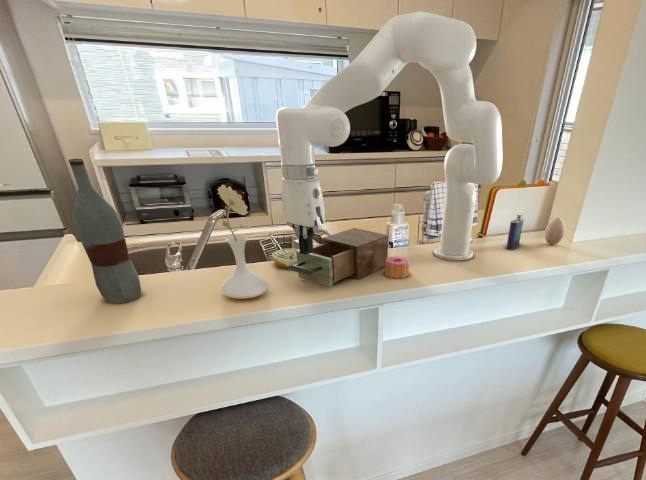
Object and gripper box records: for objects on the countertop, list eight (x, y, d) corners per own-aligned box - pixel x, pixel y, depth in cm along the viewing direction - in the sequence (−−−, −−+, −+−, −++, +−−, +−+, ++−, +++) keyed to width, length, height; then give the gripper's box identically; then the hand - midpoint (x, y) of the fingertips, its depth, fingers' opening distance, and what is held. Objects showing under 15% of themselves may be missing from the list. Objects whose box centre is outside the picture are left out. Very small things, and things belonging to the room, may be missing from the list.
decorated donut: (291, 272, 119) (289, 259, 117) (265, 265, 124) (263, 252, 122) (316, 263, 127) (315, 251, 124) (290, 256, 131) (289, 244, 129)
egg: (542, 241, 153) (548, 214, 148) (561, 243, 152) (568, 216, 147) (541, 245, 148) (548, 218, 143) (561, 248, 147) (568, 220, 141)
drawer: (316, 293, 105) (314, 264, 101) (284, 282, 111) (281, 255, 106) (361, 273, 118) (361, 247, 114) (331, 264, 123) (330, 239, 119)
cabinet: (357, 279, 117) (357, 246, 111) (323, 269, 122) (321, 237, 117) (387, 265, 126) (388, 235, 121) (354, 257, 132) (354, 227, 127)
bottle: (107, 291, 105) (57, 156, 88) (147, 288, 107) (106, 156, 90) (97, 306, 98) (41, 162, 81) (140, 302, 100) (94, 162, 83)
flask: (513, 242, 150) (519, 211, 144) (521, 244, 149) (527, 212, 143) (504, 249, 144) (510, 216, 138) (512, 250, 143) (519, 217, 136)
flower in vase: (275, 297, 105) (261, 189, 90) (229, 306, 99) (207, 193, 85) (258, 281, 114) (243, 180, 100) (215, 288, 108) (193, 183, 94)
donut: (393, 268, 125) (394, 254, 122) (412, 273, 122) (413, 259, 119) (379, 274, 120) (380, 260, 118) (399, 280, 117) (400, 265, 114)
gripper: (335, 174, 94) (338, 255, 105) (287, 167, 101) (296, 244, 112) (312, 178, 89) (318, 263, 100) (264, 171, 96) (275, 251, 106)
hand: (306, 252), depth 105 cm, fingers closed
